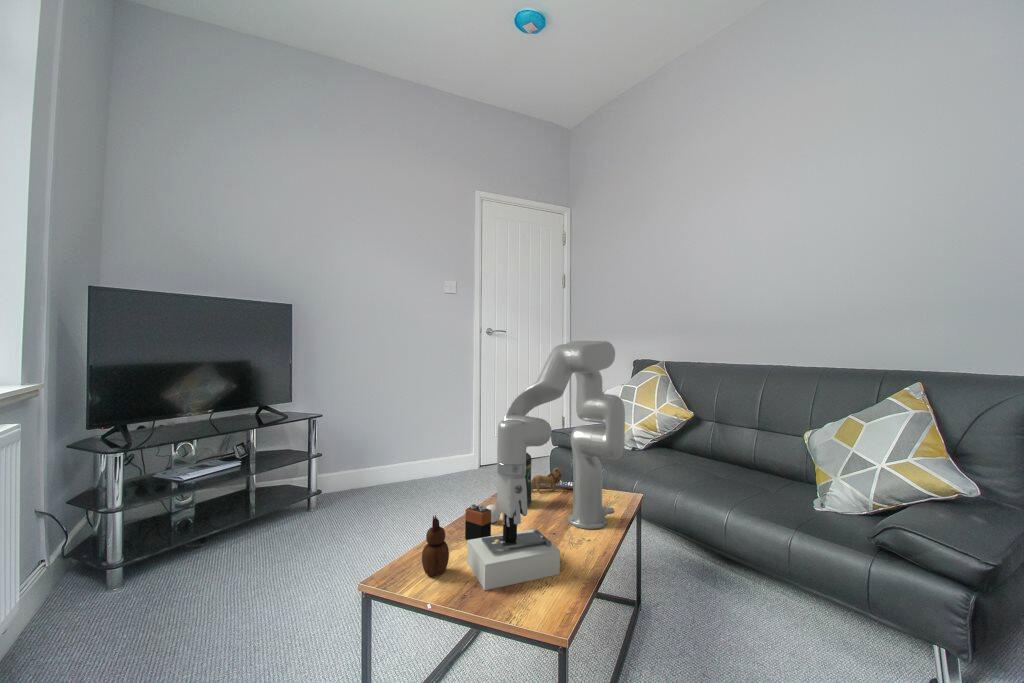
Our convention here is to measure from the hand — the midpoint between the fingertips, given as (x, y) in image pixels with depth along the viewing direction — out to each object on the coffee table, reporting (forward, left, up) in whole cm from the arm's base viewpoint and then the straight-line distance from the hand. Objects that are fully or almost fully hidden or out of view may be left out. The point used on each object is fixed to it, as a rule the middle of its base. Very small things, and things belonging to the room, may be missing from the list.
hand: (509, 540), depth 112 cm
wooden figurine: (+18, -5, -8) cm, 20 cm away
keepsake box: (-1, 0, -8) cm, 8 cm away
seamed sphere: (-6, -29, -8) cm, 31 cm away
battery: (+2, -19, -8) cm, 21 cm away
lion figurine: (-37, -51, -8) cm, 64 cm away
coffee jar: (-21, -42, -8) cm, 47 cm away
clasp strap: (-2, 0, -1) cm, 2 cm away
